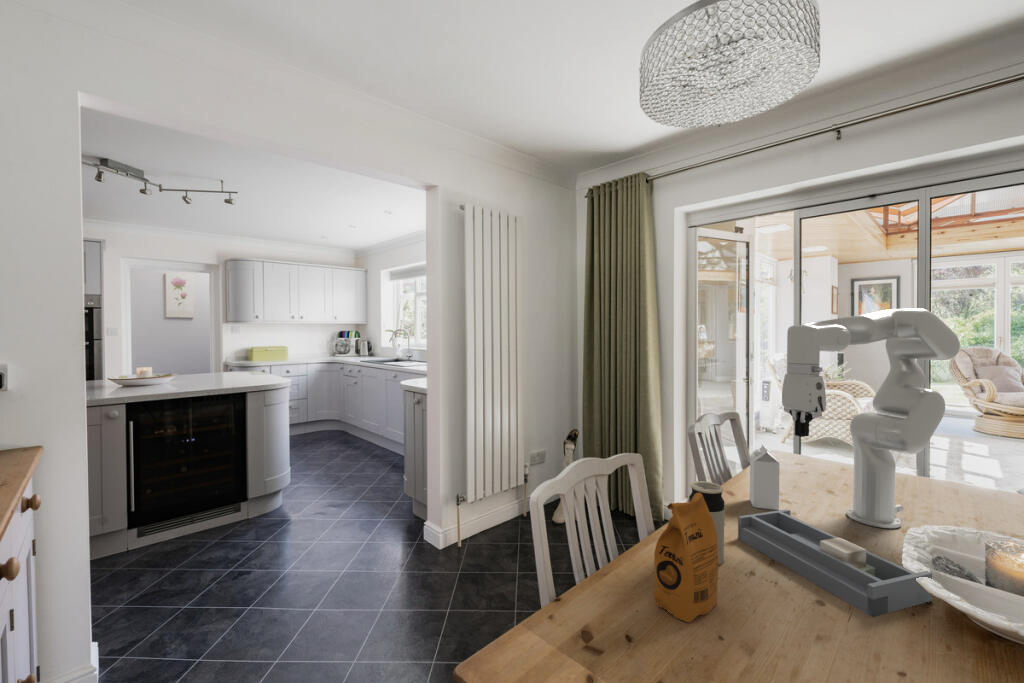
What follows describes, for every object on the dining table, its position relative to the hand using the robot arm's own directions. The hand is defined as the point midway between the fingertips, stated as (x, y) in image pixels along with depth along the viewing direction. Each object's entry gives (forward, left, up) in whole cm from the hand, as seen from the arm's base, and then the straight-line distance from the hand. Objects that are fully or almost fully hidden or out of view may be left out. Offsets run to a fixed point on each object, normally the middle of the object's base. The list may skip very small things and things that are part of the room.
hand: (801, 435), depth 122 cm
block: (+11, +20, -24) cm, 33 cm away
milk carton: (-6, -18, -27) cm, 33 cm away
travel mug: (+35, +4, -27) cm, 45 cm away
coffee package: (+52, +18, -27) cm, 61 cm away
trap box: (+11, +15, -27) cm, 33 cm away
